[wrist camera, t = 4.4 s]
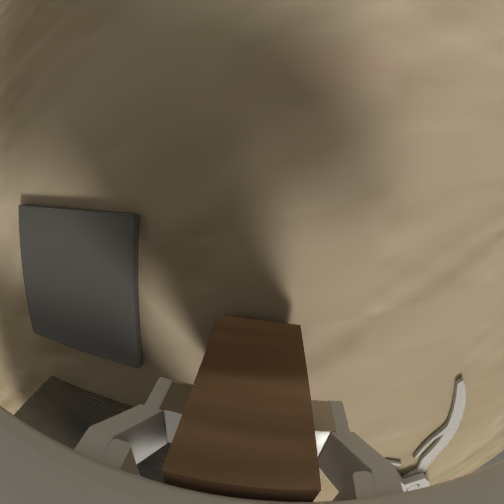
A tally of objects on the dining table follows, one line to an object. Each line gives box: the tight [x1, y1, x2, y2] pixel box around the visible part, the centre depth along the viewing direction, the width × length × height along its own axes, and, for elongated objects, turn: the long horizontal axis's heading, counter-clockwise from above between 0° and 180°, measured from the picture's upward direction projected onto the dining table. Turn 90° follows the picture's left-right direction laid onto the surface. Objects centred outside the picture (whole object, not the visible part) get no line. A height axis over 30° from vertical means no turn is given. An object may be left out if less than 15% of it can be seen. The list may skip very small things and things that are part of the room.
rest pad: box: [19, 205, 143, 368], centre depth 13 cm, size 8×8×1 cm
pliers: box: [387, 377, 466, 492], centre depth 15 cm, size 10×2×15 cm
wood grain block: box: [162, 314, 321, 502], centre depth 9 cm, size 4×4×8 cm
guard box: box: [14, 376, 171, 483], centre depth 13 cm, size 13×13×8 cm
